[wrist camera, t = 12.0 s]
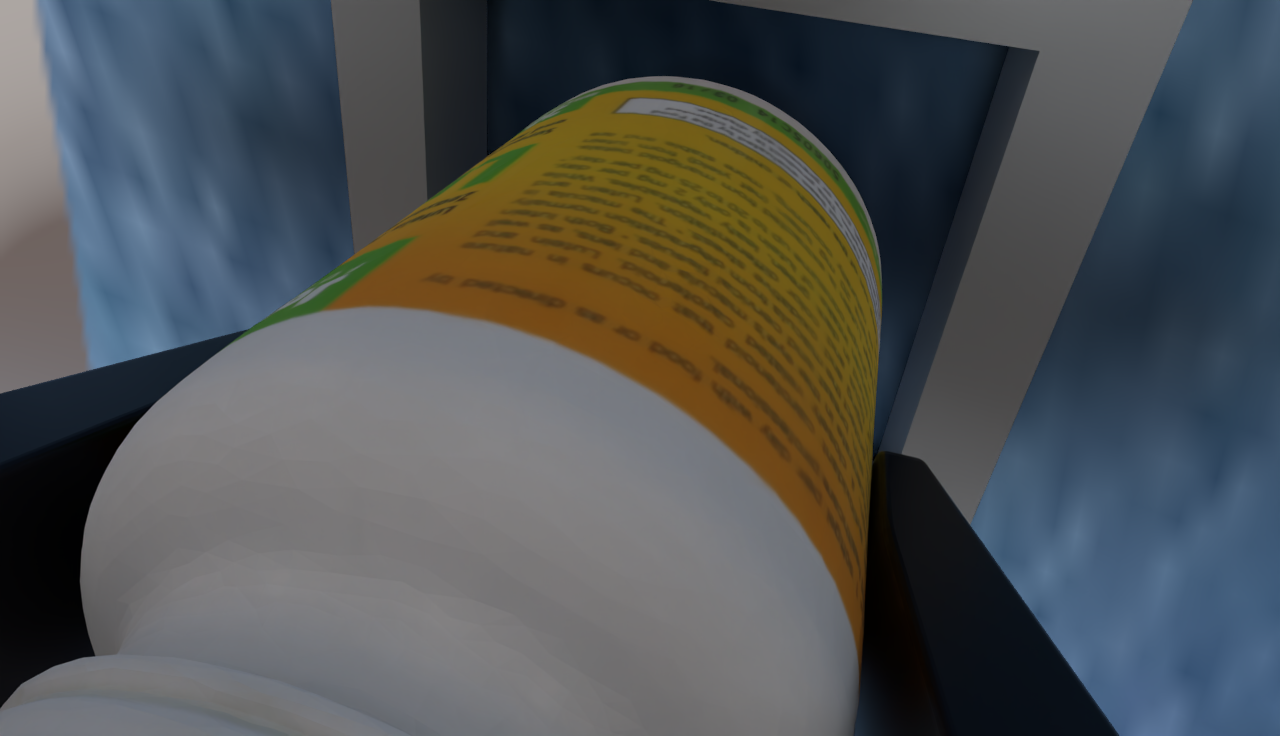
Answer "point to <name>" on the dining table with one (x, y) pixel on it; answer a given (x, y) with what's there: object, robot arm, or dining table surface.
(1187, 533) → the dining table surface
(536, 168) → the supplement bottle
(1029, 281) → the open rectangular frame
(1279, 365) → the dining table surface
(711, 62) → the dining table surface
